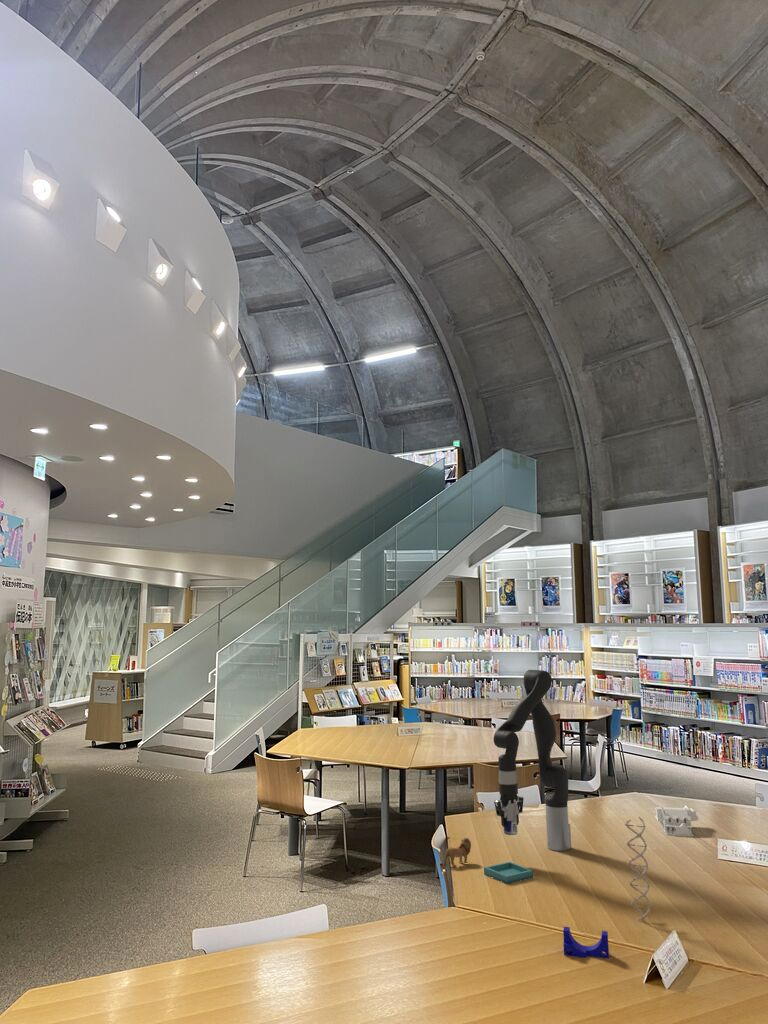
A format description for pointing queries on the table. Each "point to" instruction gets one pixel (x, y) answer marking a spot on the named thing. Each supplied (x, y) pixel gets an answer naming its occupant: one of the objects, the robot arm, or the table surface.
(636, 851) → the dna model
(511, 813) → the energy drink
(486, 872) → the tray
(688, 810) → the house model
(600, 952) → the blue curved block
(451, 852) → the lion figurine
